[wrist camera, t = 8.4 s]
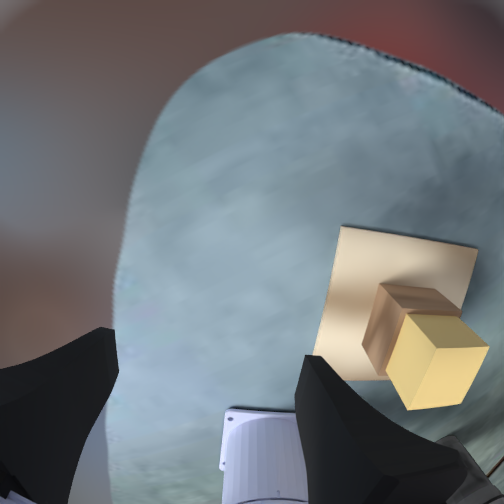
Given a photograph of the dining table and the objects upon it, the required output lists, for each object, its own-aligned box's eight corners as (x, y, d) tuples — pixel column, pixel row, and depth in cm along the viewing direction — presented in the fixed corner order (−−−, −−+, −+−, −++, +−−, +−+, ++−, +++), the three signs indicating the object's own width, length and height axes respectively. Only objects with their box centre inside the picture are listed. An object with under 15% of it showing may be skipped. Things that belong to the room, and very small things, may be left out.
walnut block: (415, 345, 23) (437, 373, 19) (361, 344, 22) (378, 376, 19) (435, 288, 21) (462, 311, 17) (379, 283, 21) (402, 308, 17)
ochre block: (435, 368, 19) (460, 403, 15) (385, 370, 18) (407, 410, 15) (456, 316, 17) (489, 346, 14) (406, 313, 17) (436, 348, 13)
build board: (431, 375, 24) (432, 377, 24) (306, 376, 24) (307, 379, 23) (475, 248, 21) (478, 249, 20) (340, 225, 20) (342, 227, 20)
